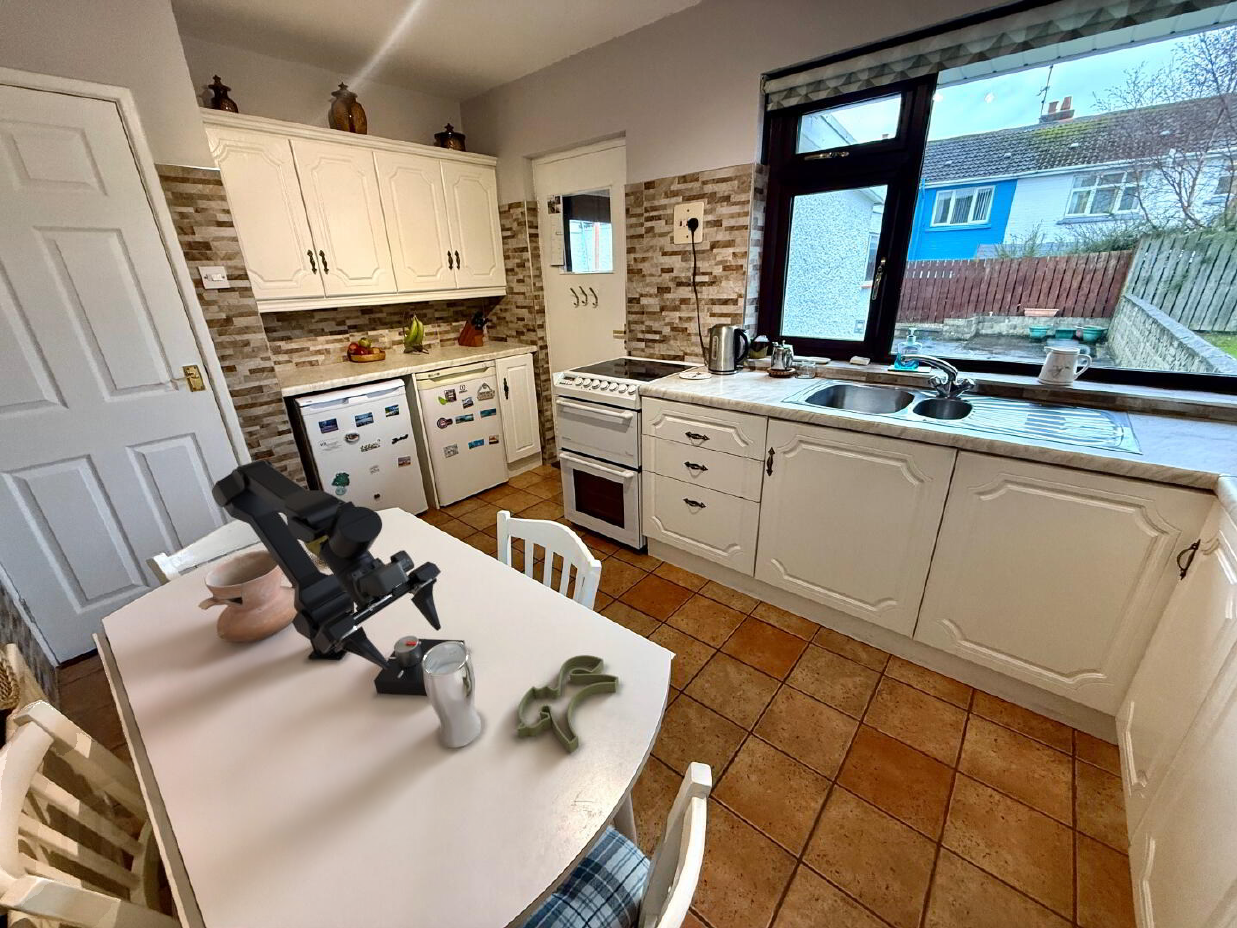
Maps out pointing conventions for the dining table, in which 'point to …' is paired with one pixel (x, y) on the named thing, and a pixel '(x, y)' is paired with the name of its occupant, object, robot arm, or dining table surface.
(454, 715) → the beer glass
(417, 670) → the hob panel
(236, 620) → the ceramic jug
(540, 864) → the dining table surface
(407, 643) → the hob knob
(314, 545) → the potato
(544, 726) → the cookie cutter
